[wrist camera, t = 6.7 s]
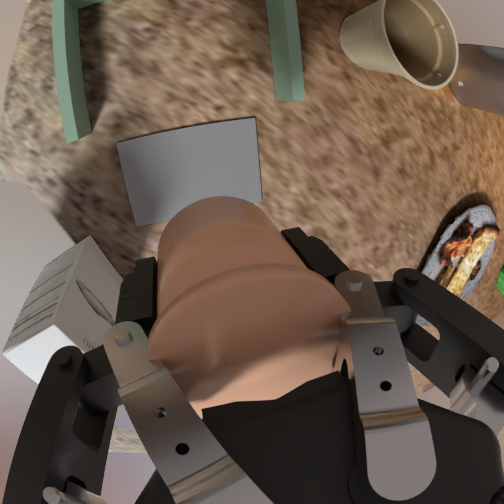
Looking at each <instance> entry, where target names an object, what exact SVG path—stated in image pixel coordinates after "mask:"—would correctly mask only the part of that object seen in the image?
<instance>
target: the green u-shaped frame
mask: <svg viewBox="0 0 504 504" xmlns="http://www.w3.org/2000/svg"><path fill="white" fill-rule="evenodd" d="M102 1H106V0H52V33H53V52H54V64H55V74H56V83H57V91H58V98H59V105H60V111H61V117H62V122H63V127H64V133H65V138H66V142H67V143H70V142H73V141H76V140H79V139H80V138H82V137H84V136H86V135H88V134H90V133H92V130H91V125H90V120H89V114H88V108H87V101H86V95H85V88H84V80H83V72H82V62H81V51H80V38H79V16H78V9H81V8H83V7H86V6H89V5H92V4H96V3H99V2H102ZM266 7H267V16H268V26H269V36H270V46H271V57H272V68H273V80H274V92H275V100H284V101H305V97H304V81H303V68H302V55H301V44H300V33H299V23H298V14H297V6H296V0H266Z"/></svg>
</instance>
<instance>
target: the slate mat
mask: <svg viewBox="0 0 504 504" xmlns="http://www.w3.org/2000/svg"><path fill="white" fill-rule="evenodd" d="M116 145H117V150H118V154H119V159H120V164H121V168H122V173H123V177H124V181H125V185H126V190H127V194H128V198H129V201H130V205H131V209H132V213H133V217H134V220H135V224H136V227H140V226H145V225H149V224H154V223H158V222H163V221H167V220H171V219H172V218H173V217H174V216H175V215H176V214H177V213H178V212H179V211H181V210H182V209H183V208H185V207H186V206H188V205H190V204H192V203H194V202H196V201H199V200H201V199H205V198H209V197H216V196H230V197H237V198H240V199H244V200H246V201H249V202H251V203H258V202H262V195H261V182H260V170H259V157H258V145H257V134H256V122H255V118H248V119H240V120H232V121H224V122H217V123H210V124H204V125H198V126H192V127H186V128H181V129H176V130H171V131H166V132H161V133H156V134H152V135H147V136H143V137H139V138H135V139H130V140H127V141H123V142H119V143H116Z"/></svg>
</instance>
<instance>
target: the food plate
mask: <svg viewBox="0 0 504 504" xmlns="http://www.w3.org/2000/svg"><path fill="white" fill-rule="evenodd" d="M460 213H461V212H460ZM499 233H500V229H499V228H498V227H497V225H496V216H495V215H494V211H493V210H492V208H491V207H490V206H489V205H487V204H484V203H481V204H479V205H477V206H472V207H470V206H469V207H468V208H467V209H465V210H464V211H463V213H462V215H458V216H457V217H455V221H454V223H453V224H449V225H448V226H447V228H446V230H445V231H444V234H443V237H442V236H441V237H442V238H441V240H440V241H439V242H438V244H437V246H436V247H435V248H434V250H433V251H432V254H431V255H430V254H429V255H428V259H427V261H426V264H425V267H424V269H423V270H422V272H421V273H423V274H425V275H426V273H427V275H426V276H429V275H428V273H429V272H430V271H431V270H432V269H434V270H433V272H431V273H430V274H431V275H430V276H429V278H431V279H432V280H434V281H435V282H437V283H438V284H440V285H441V286H443V287H444V288H446V289H447V290H449V291H450V292H452V293H453V294H455V295H456V296H457V297H459V298H460V299H462V300H463V301H464V300H465V299H466V298H467V297H468V296H469V295H470V293H472V292H473V291H472V290H474V289H475V288H476V286H477V285H476V284H478V283H479V281H480V279H481V277H482V275H483V273H484V271H485V270H484V269H486V268H485V267H487V265H488V263H489V262H488V261H489V260H490V258H491V256H492V252H493V249H494V245H495V241H496V238H497V237H498V236H499ZM433 265H434V266H433ZM428 266H429V267H428ZM428 269H429V270H428ZM430 269H431V270H430ZM475 285H476V286H475ZM474 287H475V288H474ZM471 291H472V292H471ZM416 323H417V324H418V325H422V326H425V325H432V324H431V323H429V322H428V321H427V320H425V319H424V318H423V317H421V316H420V315H419V314H418V317H417V320H416Z"/></svg>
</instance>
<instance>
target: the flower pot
mask: <svg viewBox="0 0 504 504" xmlns="http://www.w3.org/2000/svg"><path fill="white" fill-rule="evenodd" d="M339 40H340V44H341V47H342V49H343V51H344V53H345V54H346V56H347V57H348V58H349V59H350V60H351V61H352V62H353V63H355V64H357V65H358V66H360V67H362V68H365V69H371V70H376V71H381V72H386V73H391V74H395V75H399V76H403V77H404V78H406V79H408V80H410V81H411V82H413V83H414V84H416V85H418V86H420V87H422V88H426V89H431V90H436V89H439V88H442V87H444V86H445V85H447V84H448V83H449V82H450V81H451V79H452V78H453V76H454V74H455V72H456V68H457V64H458V55H459V53H458V42H457V38H456V34H455V31H454V28H453V25H452V23H451V21H450V19H449V17H448V15H447V14H446V12H445V11H444V9H443V8H442V6H441V5H440V4H439V3H438V2H437V1H436V0H378V1H376V2H375V3H373V4H371V5H369V6H367V7H365V8H363V9H362V10H360V11H358V12H356V13H354V14H352V15H350V16H348V17H347V18H346V19H344V21H343V22H342V25H341V29H340V33H339Z"/></svg>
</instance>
